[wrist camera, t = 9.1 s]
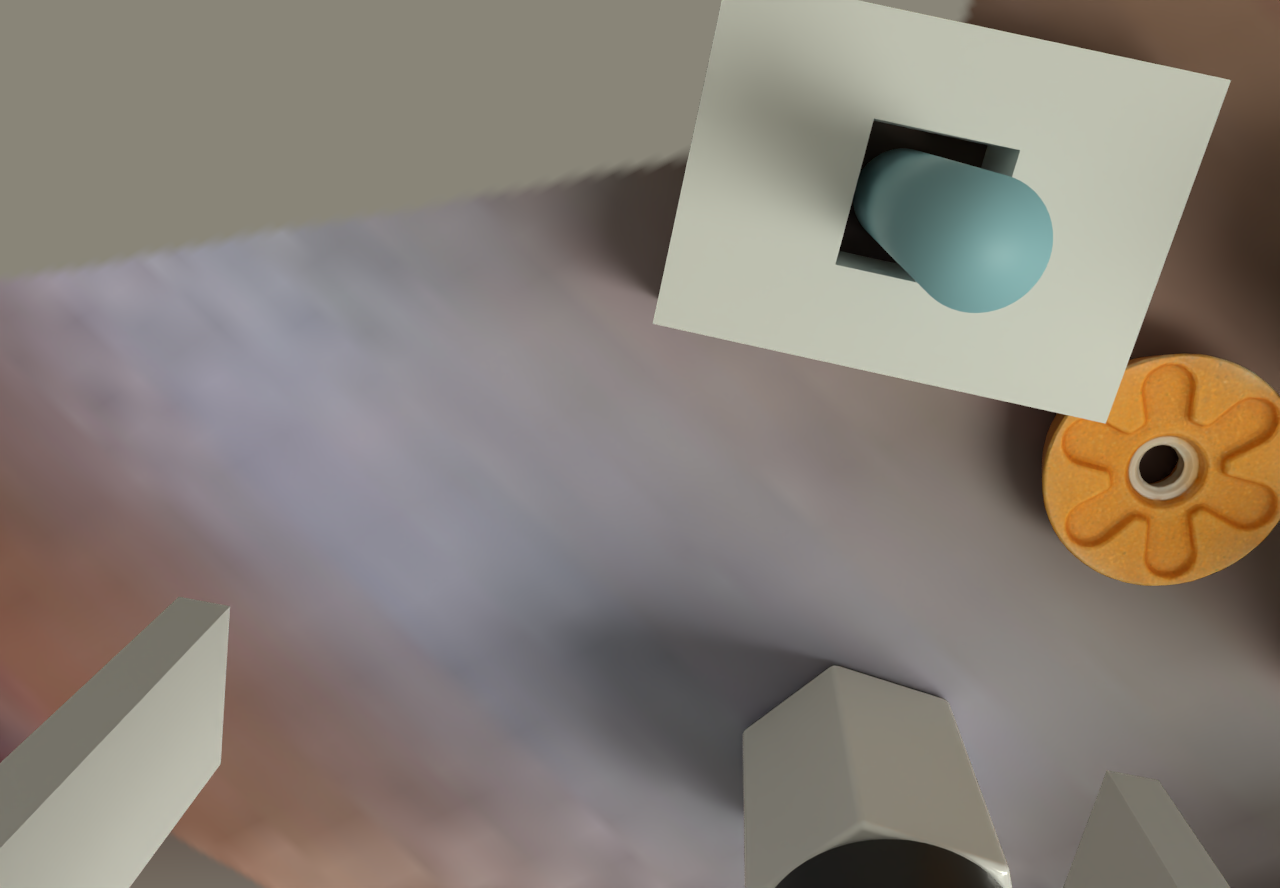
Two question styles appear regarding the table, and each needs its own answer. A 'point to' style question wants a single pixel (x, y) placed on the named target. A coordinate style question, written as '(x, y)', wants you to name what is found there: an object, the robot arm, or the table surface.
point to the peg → (955, 227)
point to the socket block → (1017, 147)
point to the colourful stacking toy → (1193, 492)
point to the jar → (864, 792)
